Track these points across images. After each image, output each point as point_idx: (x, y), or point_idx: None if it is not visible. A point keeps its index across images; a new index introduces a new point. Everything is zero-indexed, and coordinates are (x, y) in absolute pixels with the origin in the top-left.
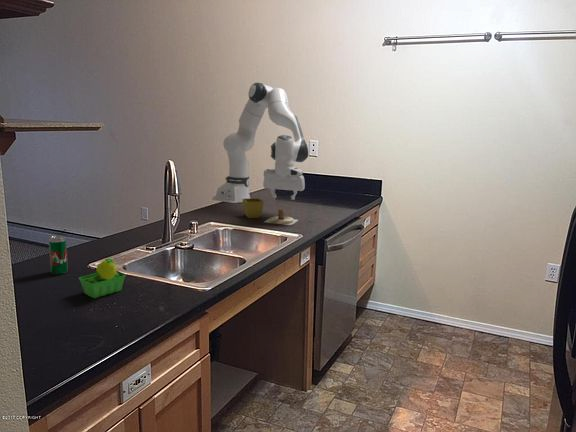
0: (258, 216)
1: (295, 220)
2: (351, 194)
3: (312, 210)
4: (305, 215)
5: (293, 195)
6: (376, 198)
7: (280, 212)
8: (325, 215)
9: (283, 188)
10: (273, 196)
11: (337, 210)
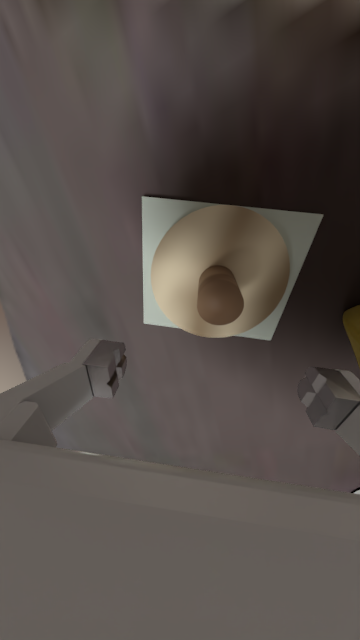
0: (351, 310)
1: (152, 308)
2: None
3: (148, 441)
4: (148, 394)
5: (66, 369)
6: None
7: (223, 279)
8: (92, 405)
9: (215, 505)
10: (344, 378)
11: (90, 447)
